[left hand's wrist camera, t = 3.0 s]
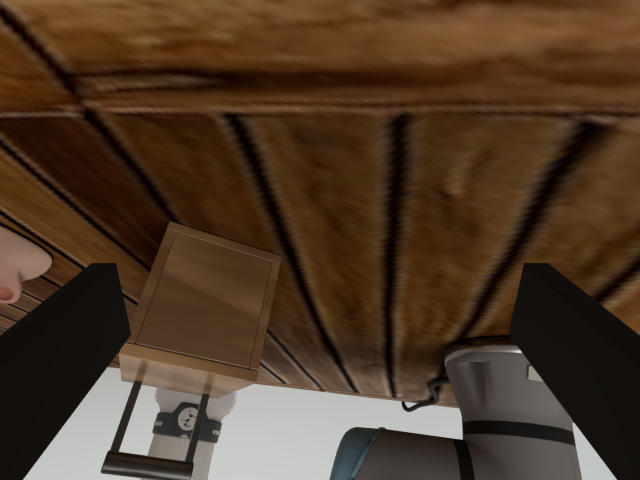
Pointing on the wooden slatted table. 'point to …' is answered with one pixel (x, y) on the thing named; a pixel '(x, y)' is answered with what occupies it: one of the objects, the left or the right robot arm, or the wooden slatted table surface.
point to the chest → (207, 298)
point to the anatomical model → (19, 264)
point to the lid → (179, 376)
